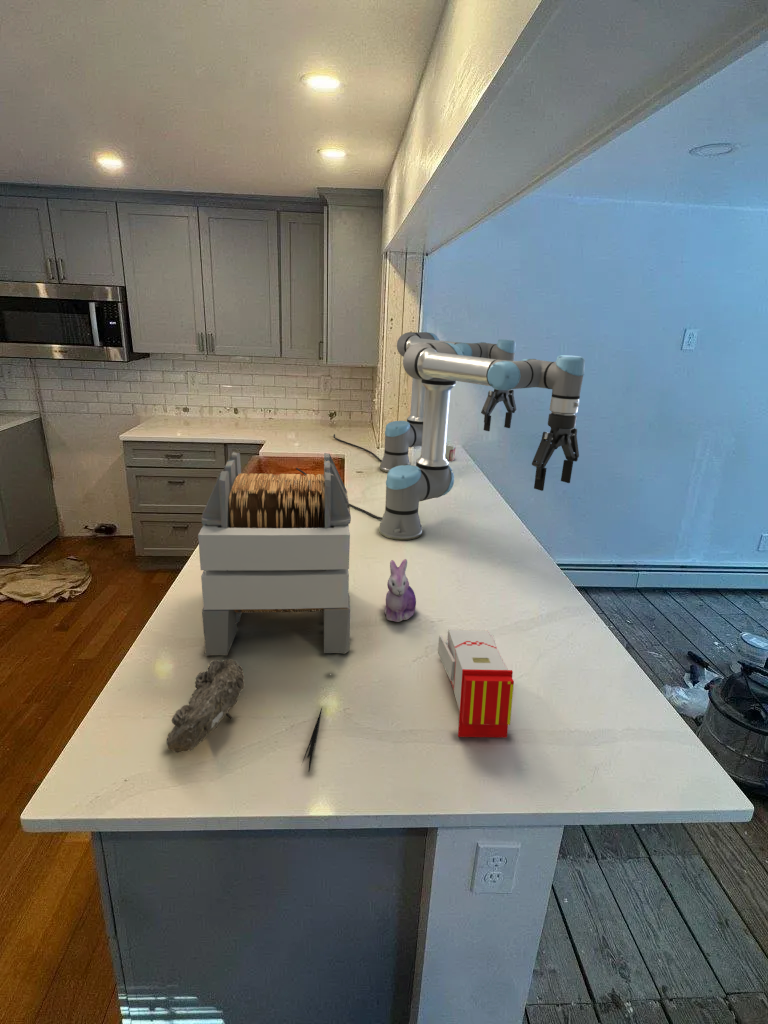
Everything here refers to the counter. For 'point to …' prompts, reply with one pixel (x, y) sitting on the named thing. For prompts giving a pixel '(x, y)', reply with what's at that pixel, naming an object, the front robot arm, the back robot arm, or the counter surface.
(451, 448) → the small box
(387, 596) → the figurine
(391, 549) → the counter surface
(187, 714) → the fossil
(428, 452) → the front robot arm
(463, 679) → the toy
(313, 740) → the feather
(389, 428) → the back robot arm
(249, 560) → the record storage crate
